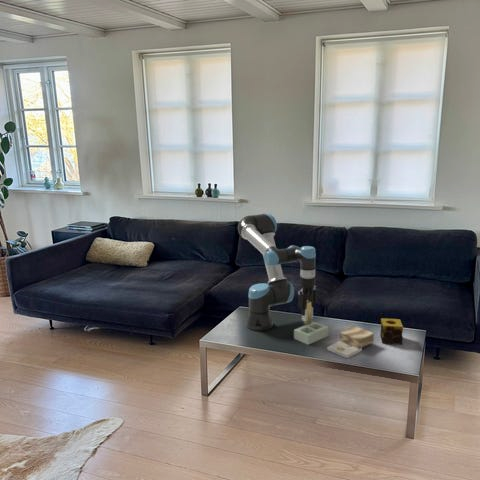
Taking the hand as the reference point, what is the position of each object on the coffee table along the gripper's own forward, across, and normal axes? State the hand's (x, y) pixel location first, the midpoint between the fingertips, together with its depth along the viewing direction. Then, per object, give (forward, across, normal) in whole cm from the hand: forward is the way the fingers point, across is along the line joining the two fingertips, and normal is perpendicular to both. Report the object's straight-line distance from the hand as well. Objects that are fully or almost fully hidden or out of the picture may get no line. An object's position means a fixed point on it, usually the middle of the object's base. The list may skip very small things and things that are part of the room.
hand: (307, 319), depth 237 cm
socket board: (+11, +4, 0) cm, 12 cm away
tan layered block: (+10, +14, -21) cm, 27 cm away
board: (+11, +4, -21) cm, 24 cm away
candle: (+12, +32, -30) cm, 45 cm away
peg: (+2, 0, 0) cm, 2 cm away
